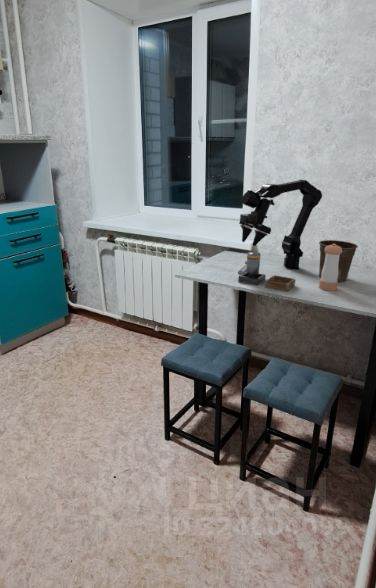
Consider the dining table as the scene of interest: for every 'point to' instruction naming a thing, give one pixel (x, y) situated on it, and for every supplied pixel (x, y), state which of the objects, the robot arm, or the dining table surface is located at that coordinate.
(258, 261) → the brass-banded metal cylinder
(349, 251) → the plant pot
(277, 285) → the wooden square frame
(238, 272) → the adjustable wrench
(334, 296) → the dining table surface
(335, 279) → the pepper shaker
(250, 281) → the socket block
